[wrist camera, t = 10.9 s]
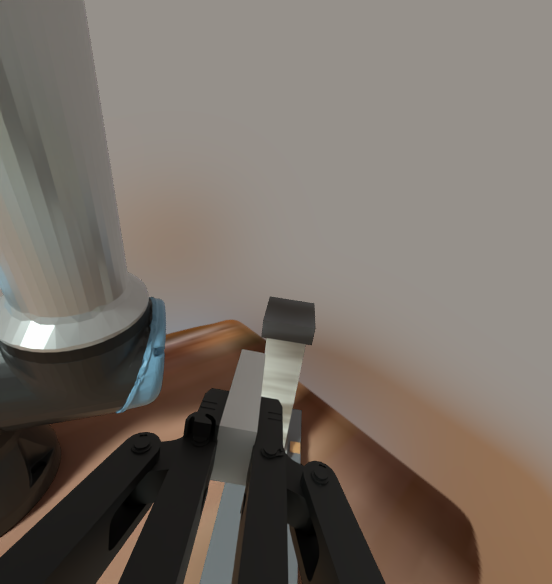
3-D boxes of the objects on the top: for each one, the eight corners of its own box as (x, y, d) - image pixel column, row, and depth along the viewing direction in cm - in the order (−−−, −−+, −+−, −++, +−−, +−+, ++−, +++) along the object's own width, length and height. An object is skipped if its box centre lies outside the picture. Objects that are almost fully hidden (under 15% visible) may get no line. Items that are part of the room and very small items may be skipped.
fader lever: (285, 464, 36) (315, 328, 26) (247, 457, 36) (263, 320, 26) (287, 430, 40) (314, 303, 31) (253, 424, 40) (269, 296, 31)
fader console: (290, 701, 22) (295, 694, 20) (178, 677, 22) (177, 669, 21) (299, 418, 45) (301, 409, 44) (245, 409, 45) (246, 399, 44)
